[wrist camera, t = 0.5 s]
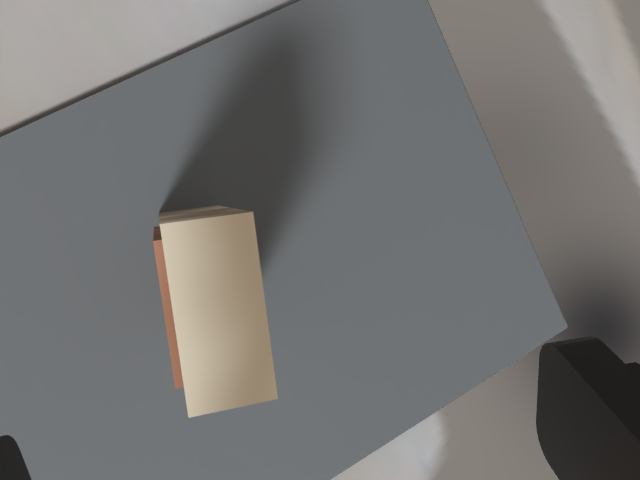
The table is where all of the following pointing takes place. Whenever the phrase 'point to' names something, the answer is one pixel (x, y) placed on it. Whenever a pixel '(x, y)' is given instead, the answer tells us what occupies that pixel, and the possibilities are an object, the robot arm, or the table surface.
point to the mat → (264, 250)
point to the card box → (214, 308)
